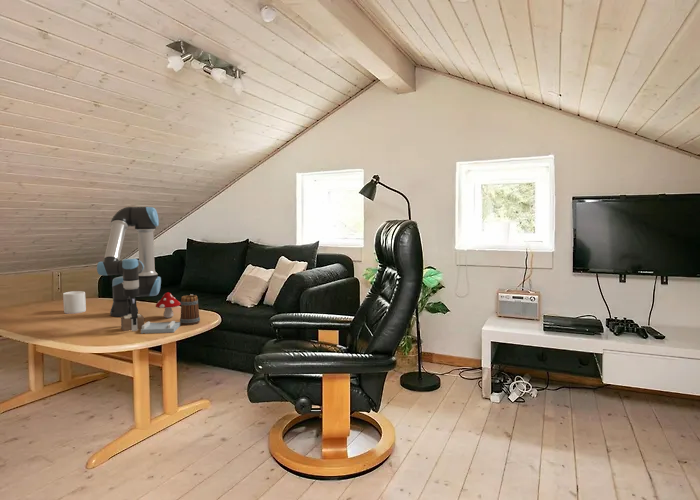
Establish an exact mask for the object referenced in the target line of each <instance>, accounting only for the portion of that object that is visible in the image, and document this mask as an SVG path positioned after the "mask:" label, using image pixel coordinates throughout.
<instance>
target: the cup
mask: <svg viewBox="0 0 700 500" xmlns="http://www.w3.org/2000/svg"><path fill="white" fill-rule="evenodd" d="M62 298H63V299H62V300H63V301H62V302H63V312H64V314H66V315H67V314H68V315H70V314H71V315H72V314H81V313H84V312H86V311H87V304H86V303H87V302H86V292H85V291H84V290H72V291H67V292H66V291H65V292H63V293H62Z"/></svg>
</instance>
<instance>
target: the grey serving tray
mask: <svg viewBox="0 0 700 500" xmlns="http://www.w3.org/2000/svg"><path fill="white" fill-rule="evenodd" d="M180 327H181V323H180V321H176V320H171V321H166V322H165V321H163V322H161V321H160V322H151V321H146V322H144V325H143V326H142V329H140V334H142V335H143V333H145V334H166V333H167V334H168V333H169V334H170V333H172V334H173V333H175V332H176V331H177V330H178V329H179V328H180Z"/></svg>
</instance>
